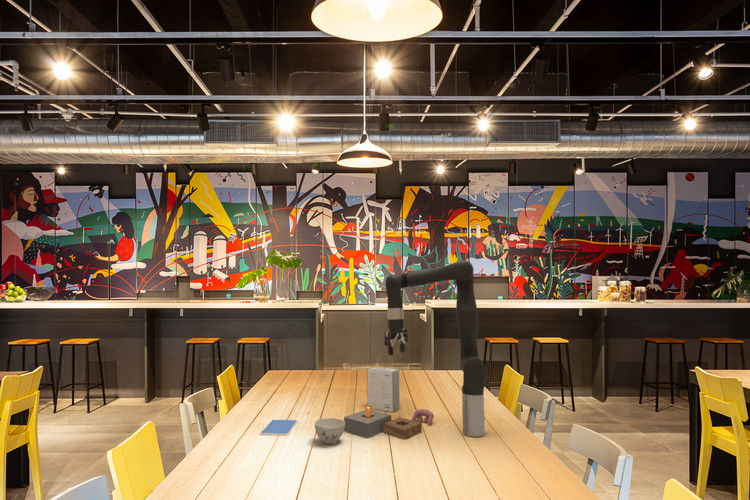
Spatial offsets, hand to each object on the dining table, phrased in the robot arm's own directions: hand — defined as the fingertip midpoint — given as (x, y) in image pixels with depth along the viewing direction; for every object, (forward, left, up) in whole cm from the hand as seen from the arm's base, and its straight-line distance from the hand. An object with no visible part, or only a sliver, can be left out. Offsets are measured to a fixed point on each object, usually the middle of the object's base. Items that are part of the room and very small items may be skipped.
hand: (396, 353), depth 201 cm
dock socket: (+11, -8, -33) cm, 35 cm away
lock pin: (+11, -8, -33) cm, 35 cm away
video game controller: (-13, +5, -33) cm, 36 cm away
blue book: (+35, -40, -34) cm, 63 cm away
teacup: (+31, -11, -33) cm, 47 cm away
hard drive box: (-18, -23, -33) cm, 44 cm away
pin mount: (+4, +6, -33) cm, 34 cm away
